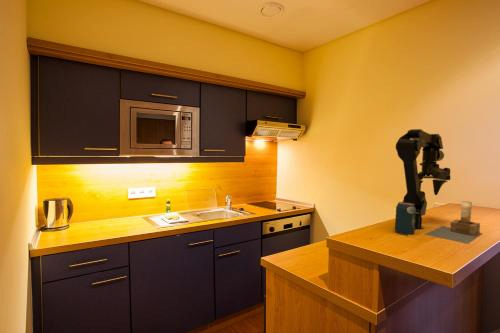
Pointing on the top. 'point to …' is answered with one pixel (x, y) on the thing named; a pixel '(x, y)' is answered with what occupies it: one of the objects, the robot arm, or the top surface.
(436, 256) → the top surface
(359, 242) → the top surface
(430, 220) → the top surface
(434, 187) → the robot arm
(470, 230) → the hole block
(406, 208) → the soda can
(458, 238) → the mat
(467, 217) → the peg
